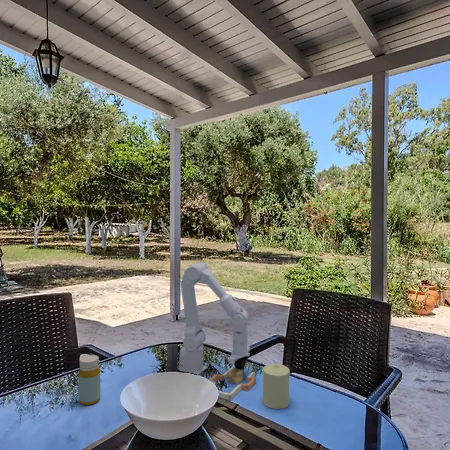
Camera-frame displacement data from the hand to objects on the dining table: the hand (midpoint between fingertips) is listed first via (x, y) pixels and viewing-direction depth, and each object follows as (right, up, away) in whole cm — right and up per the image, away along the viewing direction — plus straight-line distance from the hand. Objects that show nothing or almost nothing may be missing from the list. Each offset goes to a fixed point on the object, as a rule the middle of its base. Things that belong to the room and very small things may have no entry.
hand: (239, 374), depth 147 cm
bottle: (-53, -2, -18) cm, 56 cm away
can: (+12, -3, -18) cm, 21 cm away
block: (-2, -1, -3) cm, 4 cm away
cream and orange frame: (-3, -1, -6) cm, 7 cm away
